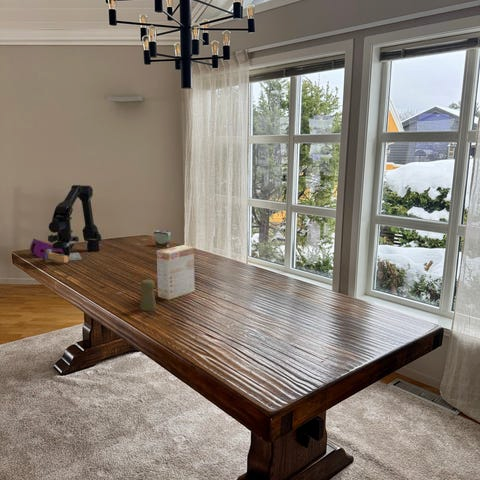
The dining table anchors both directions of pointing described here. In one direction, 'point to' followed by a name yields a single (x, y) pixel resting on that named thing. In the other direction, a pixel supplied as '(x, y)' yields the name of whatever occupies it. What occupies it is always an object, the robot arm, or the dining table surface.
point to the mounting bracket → (41, 248)
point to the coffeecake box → (175, 271)
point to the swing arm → (56, 256)
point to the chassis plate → (71, 257)
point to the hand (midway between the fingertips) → (67, 258)
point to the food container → (162, 238)
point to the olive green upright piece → (147, 295)
